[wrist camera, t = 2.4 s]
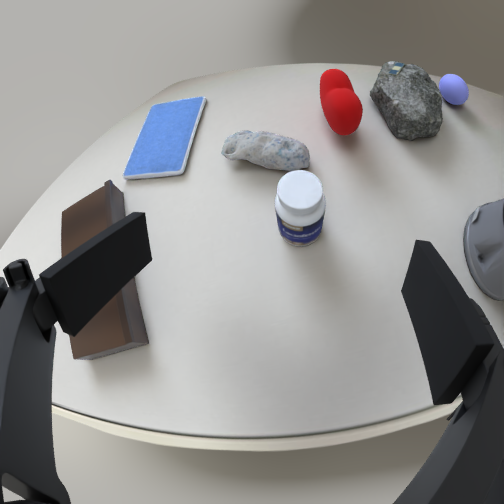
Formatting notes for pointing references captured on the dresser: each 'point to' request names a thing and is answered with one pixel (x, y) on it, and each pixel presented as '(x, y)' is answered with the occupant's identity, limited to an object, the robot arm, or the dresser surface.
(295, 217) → the pill bottle
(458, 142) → the dresser surface
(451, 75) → the sphere
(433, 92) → the rock
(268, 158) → the decorative stone
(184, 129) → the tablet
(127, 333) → the ledge
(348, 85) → the heart
